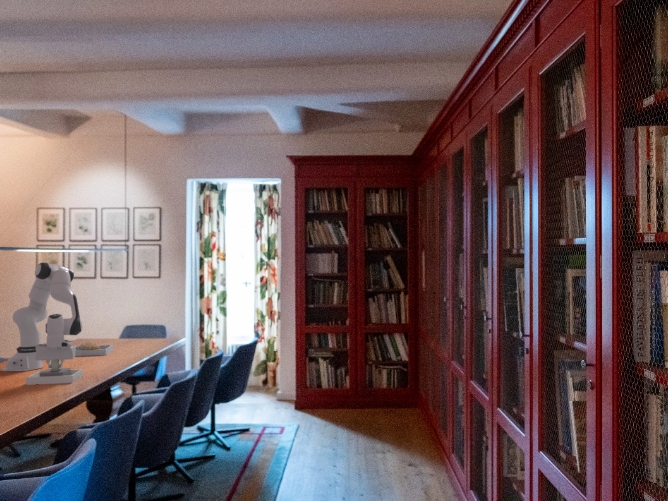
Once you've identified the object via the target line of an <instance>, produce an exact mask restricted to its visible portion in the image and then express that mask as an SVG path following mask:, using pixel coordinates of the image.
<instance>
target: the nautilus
mask: <svg viewBox="0 0 668 501" xmlns="http://www.w3.org/2000/svg"><path fill="white" fill-rule="evenodd" d="M98 345H99V344H96V343H92V342H89V341H87V342H84V343H82V344H80V345H79V346H80V347H79V350H99V349H100V346H98Z"/></svg>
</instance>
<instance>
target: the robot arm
mask: <svg viewBox="0 0 668 501" xmlns="http://www.w3.org/2000/svg"><path fill="white" fill-rule="evenodd" d="M34 275H35V277H36V279H34V282H33V284H32V287H31V289H30V291H29V293H28V298H29V304H28V306H26V307H25V306H23V307H21V308H17V310H15V311H14V312H13V313H12V321H13V322H14V323H15V324H16V326H17V329H18V331H19V338H20V339H19V340H20V343H19V346H18V347H16V351H17V352H16V353H15V354H13V355H12V356H11V357H9V358H8V359H7V361H6V364H5V365H6V366H5V367H2V368H1V372H28V371H32V370H38V369H42V368H44V364H43V361H45V363H46V364H47V366H48V368H47V369H51V360H59V361H60V363H59V368H63V364H64V362H65V360H67V361H68V360H73V359H75V357H76V356H75V349H74V347H75V346H73V345H74V342H73V341H72V340H68V339H65V336H77V335H79V334H81V333H82V331H83V323H82V320H81V316H80V310H79V304H78V303H79V302H78V298H77V296H76V294H75V293H74V292H72V289H71V288H72V287H71V284H72V282H73V280H74V277H75V272H74V269H72V268H70V267H65V266H63V265H60V264H53V263H48V262H40V263H38V264H37V265H36V267H35V271H34ZM50 296H51V298H53V300H55V301H56V302H59V303H63V304H65V305H68V306H70V308H71V316H72V317H71V318H64V316H63V315H62V314H60V313H54V314H53V313H52V314H50V315H48V310H47V305H48V300H49V298H50ZM46 318H47V321H46V323H45V333H46V334H47V335H46V343H41V331H39V329H38V327H37V324H38V323H40V322H42V321H44V320H45V319H46Z"/></svg>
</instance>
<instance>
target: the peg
mask: <svg viewBox="0 0 668 501" xmlns="http://www.w3.org/2000/svg"><path fill="white" fill-rule="evenodd" d="M50 364H51V368H50V369H51V372H55V371H59V364H60V360H50Z"/></svg>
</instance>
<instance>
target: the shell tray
mask: <svg viewBox="0 0 668 501" xmlns="http://www.w3.org/2000/svg"><path fill="white" fill-rule="evenodd" d="M97 345H98V346H100V349H99V350H79V347H80V346H81V345H75V346H73V347H74V349H75V357H87V356H88V357H89V356H90V357H91V356H107V355H108V354H110V353H111V352H113V351H114V344H104V345H102V344H100V345H99V344H97Z"/></svg>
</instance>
